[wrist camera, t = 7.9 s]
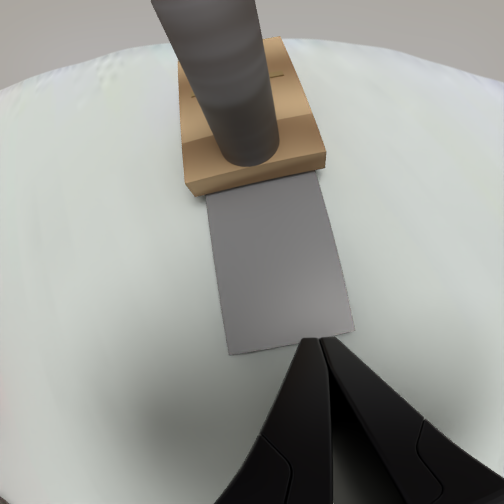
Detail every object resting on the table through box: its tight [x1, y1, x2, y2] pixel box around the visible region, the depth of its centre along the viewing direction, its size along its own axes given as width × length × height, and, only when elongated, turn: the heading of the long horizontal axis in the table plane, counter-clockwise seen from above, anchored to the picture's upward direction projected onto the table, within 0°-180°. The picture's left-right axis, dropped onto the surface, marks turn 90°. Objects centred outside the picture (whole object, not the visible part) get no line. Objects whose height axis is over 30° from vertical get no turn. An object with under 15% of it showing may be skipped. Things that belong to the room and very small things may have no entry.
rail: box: [205, 170, 355, 355], centre depth 14 cm, size 16×6×7 cm, turn 10°
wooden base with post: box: [151, 0, 326, 197], centre depth 13 cm, size 10×7×11 cm
